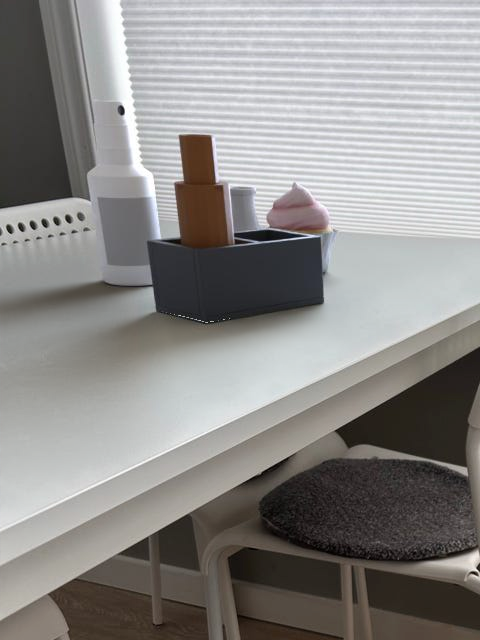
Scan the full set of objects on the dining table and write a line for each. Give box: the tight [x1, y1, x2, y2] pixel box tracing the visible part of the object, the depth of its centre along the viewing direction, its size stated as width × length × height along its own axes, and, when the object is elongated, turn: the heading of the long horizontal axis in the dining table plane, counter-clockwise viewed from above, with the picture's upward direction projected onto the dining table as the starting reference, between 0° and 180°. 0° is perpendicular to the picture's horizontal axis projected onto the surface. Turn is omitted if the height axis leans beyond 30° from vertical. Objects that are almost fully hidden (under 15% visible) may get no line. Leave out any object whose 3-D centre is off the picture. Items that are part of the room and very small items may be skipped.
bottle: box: [173, 133, 235, 249], centre depth 92 cm, size 5×5×15 cm
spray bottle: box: [86, 99, 162, 287], centre depth 104 cm, size 7×7×18 cm
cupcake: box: [262, 181, 340, 273], centre depth 115 cm, size 9×9×10 cm
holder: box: [147, 227, 325, 325], centre depth 97 cm, size 8×15×7 cm, turn 141°
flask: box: [230, 186, 261, 232], centre depth 107 cm, size 7×7×10 cm
